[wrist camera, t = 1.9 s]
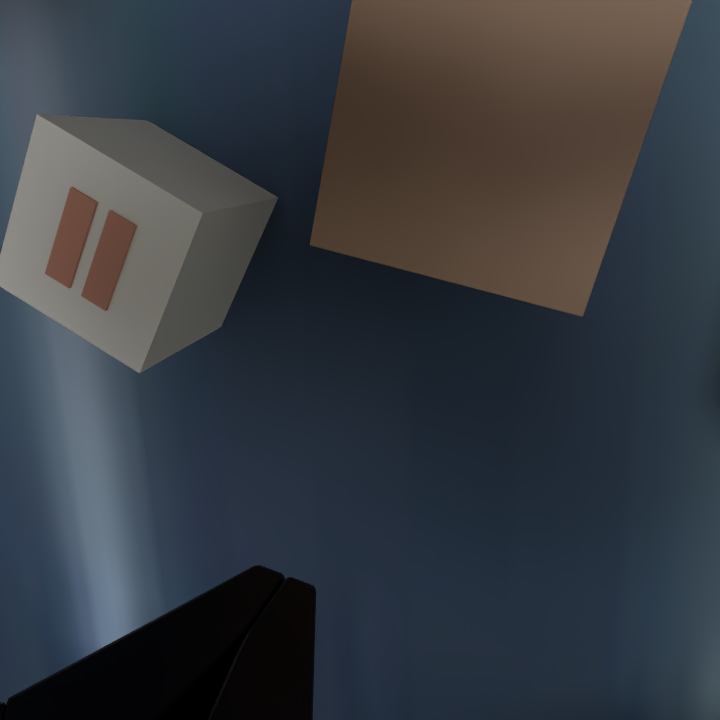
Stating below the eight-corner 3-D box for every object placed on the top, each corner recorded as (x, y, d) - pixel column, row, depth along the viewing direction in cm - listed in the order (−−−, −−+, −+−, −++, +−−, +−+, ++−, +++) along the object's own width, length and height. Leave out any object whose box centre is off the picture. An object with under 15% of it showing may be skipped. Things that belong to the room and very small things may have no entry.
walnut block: (575, 283, 19) (582, 316, 15) (352, 227, 20) (309, 245, 17) (662, 22, 16) (696, -13, 13) (401, -24, 18) (363, -68, 14)
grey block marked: (222, 326, 22) (137, 374, 18) (104, 254, 23) (-10, 282, 18) (279, 197, 20) (200, 213, 16) (148, 120, 21) (33, 114, 16)
